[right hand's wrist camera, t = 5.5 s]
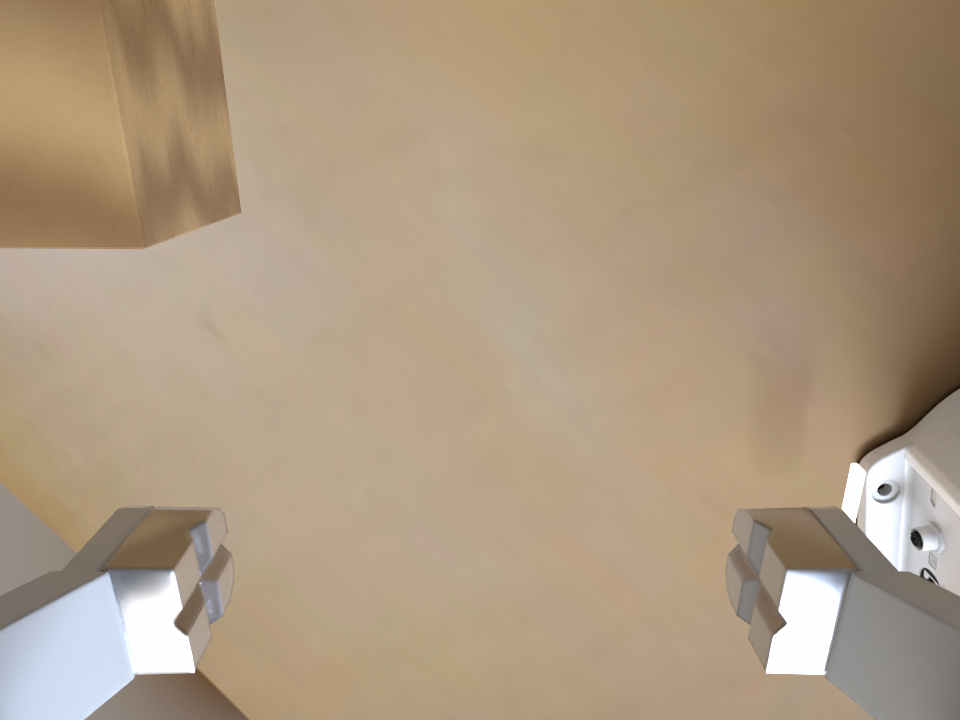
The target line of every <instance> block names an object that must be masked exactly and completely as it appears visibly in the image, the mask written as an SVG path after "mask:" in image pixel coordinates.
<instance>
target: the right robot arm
mask: <svg viewBox="0 0 960 720" xmlns="http://www.w3.org/2000/svg"><path fill="white" fill-rule="evenodd" d="M882 484H885V486H884V487H883V488H881V489H878V487H879V486H880V485H882ZM856 516H857V525H856V524H855V520H856ZM227 532H228V528H227V523H226V519H225V514H224V512H223V511H222V510H220V509H219V508H200V507H153V506H138V507H123V508H120V509H118V510H117V511H116V512H115V513H114V514H113V515H112V516H111V517H110V518H109V520H108V521H107V522H106V523H105V524H104V525H103V526H102V527H101V528H100V529H99V530H98V532H97V533H96V534H95V535H94V536H93V537H92V538H91V539H90V540H89V541H88V543H87V544H86V545H85V546H84V547H83V548H82V549H81V550H80V551H79V552H78V554H77V555H76V556H75V557H74V558H73V559H72V560H71V561H70V562H69V563H68V565H67V566H66V567H65V568H64V569H63V570H62V571H51V572H49V573H47V574H45V575H42V576H40V577H38V578H36V579H34V580H32V581H30V582H28V583H26V584H24V585H22V586H20V587H18V588H16V589H14V590H12V591H10V592H8V593H6V594H4V595H1V596H0V720H84V719H85V718H87V717H88V716H89V715H90V714H91V713H93V712H94V711H95V710H96V709H97V708H99V707H100V706H101V705H102V704H103V703H105V702H106V701H107V700H108V699H109V698H111V697H112V696H113V695H114V694H116V693H117V692H118V691H119V690H120V689H121V688H123V687H124V686H125V685H126V684H128V683H129V682H130V681H131V680H132V679H134V677H135V676H134V674H168V673H194V672H195V670H196V668H197V666H198V664H199V662H200V660H201V658H202V656H203V654H204V652H205V650H206V648H207V646H208V644H209V642H210V640H211V638H212V636H211V630H210V624H212V623H213V622H215V621H216V620H217V619H219V618H220V617H222V616H223V615H224V612H225V610H226V608H227V606H228V604H229V602H230V598H231V593H232V589H233V584H234V565H233V558H232V554H231V553H230V552H229V551H228V550H227V549H226V548H225V547H224V546H223V545H222V544H221V542H222V541H223V539H224V537H225V536H226V534H227ZM732 532H733V534H734V536H735V537H736V539H737V541H738V542H739V544H738V545H737V546H736V547H735V548H734V549H733V550H732V551H731V552H730V553H729V554H728V558H727V566H726V582H727V591H728V594H729V598H730V601H731V604H732V606H733V608H734V610H735V613H736V615H737V616H738V617H740V618H741V619H742V620H744V621H745V622H747V623H748V624H750V630H749V636H748V638H749V640H750V642H751V644H752V646H753V648H754V650H755V652H756V654H757V656H758V658H759V660H760V662H761V664H762V666H763V668H764V670H765V671H766V673H790V674H826V675H825V678H827V679H828V680H829V681H830V682H831V683H833V684H834V685H835V686H836V687H837V688H839V689H840V690H841V691H842V692H844V693H845V694H846V695H847V696H848V697H850V698H851V699H852V700H853V701H854V702H856V703H857V704H858V705H859V706H860V707H862V708H863V709H864V710H865V711H866V712H868V713H869V714H870V715H871V716H872V717H874V718H875V719H876V720H960V389H958V390H957V391H955V392H954V393H952V394H951V395H949V396H948V397H947V398H945V399H944V400H943V401H941V402H940V403H939V404H938V405H937V406H936V407H934V408H933V409H932V410H931V411H930V412H929V413H928V414H927V415H926V416H925V417H924V418H923V419H922V420H921V421H920V422H919V423H918V424H917V425H916V426H914V427H913V428H912V429H911V430H910V431H908V432H907V433H906V434H904V435H902V436H900V437H898V438H896V439H894V440H892V441H889V442H887V443H885V444H883V445H881V446H880V447H878V448H876V449H874V450H873V451H871V452H869V453H868V454H867V455H866V456H864V457H863V459H862V460H861V461H860V463H859V465H858V464H857V463H851V467H850V472H849V477H848V482H847V486H846V491H845V496H844V501H843V506H842V509H840V508H838V507H835V506H821V507H802V508H756V509H738V511H737V513H736V515H735V517H734V522H733V528H732Z"/></svg>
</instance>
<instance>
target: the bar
mask: <svg viewBox="0 0 960 720" xmlns="http://www.w3.org/2000/svg"><path fill="white" fill-rule="evenodd" d="M240 213H241V208H240V200H239V192H238V185H237V177H236V169H235V161H234V153H233V146H232V138H231V130H230V122H229V114H228V107H227V99H226V91H225V83H224V75H223V68H222V60H221V52H220V44H219V36H218V29H217V21H216V13H215V5H214V0H0V248H60V249H145V248H147V247H150V246H153V245H156V244H158V243H161V242H164V241H166V240H169V239H172V238H175V237H177V236H180V235H183V234H185V233H188V232H191V231H193V230H196V229H199V228H202V227H204V226H207V225H210V224H212V223H215V222H218V221H221V220H223V219H226V218H229V217H231V216H234V215H237V214H240Z"/></svg>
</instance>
